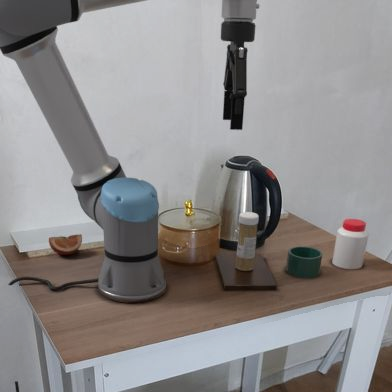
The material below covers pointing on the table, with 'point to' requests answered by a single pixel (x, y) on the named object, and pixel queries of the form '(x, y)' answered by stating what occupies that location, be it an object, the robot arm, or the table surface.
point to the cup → (304, 262)
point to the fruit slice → (65, 244)
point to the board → (244, 274)
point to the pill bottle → (350, 244)
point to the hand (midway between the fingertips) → (232, 124)
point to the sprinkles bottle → (246, 241)
